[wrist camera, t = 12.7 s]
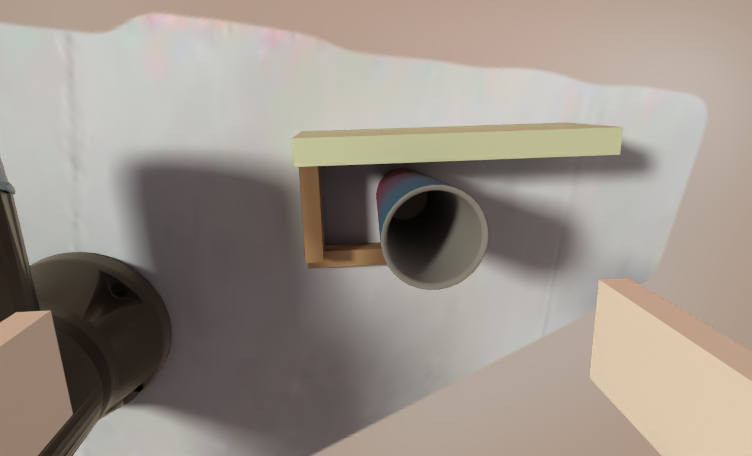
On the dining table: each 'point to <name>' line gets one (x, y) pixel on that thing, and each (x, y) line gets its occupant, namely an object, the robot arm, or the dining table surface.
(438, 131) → the wall board
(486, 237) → the cup
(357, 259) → the bracket
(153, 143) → the dining table surface
